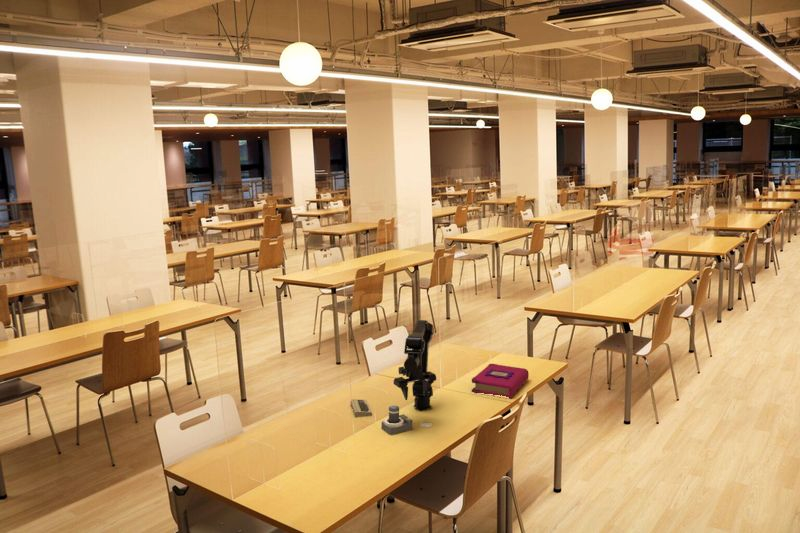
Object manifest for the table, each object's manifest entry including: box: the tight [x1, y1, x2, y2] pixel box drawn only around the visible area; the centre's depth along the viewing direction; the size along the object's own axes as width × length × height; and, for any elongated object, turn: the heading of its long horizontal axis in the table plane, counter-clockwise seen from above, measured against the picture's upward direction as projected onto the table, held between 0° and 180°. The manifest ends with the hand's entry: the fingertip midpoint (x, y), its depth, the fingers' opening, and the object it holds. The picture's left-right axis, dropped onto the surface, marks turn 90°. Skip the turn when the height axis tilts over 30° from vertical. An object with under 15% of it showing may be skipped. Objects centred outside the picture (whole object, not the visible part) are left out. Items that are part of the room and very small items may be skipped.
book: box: [471, 363, 530, 398], centre depth 346 cm, size 21×28×8 cm
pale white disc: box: [420, 421, 433, 429], centre depth 301 cm, size 5×5×1 cm
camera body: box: [381, 413, 414, 436], centre depth 297 cm, size 11×8×5 cm
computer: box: [349, 398, 373, 418], centre depth 318 cm, size 16×8×3 cm, turn 12°
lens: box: [388, 405, 400, 424], centre depth 295 cm, size 5×5×7 cm
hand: (415, 397), depth 301 cm, fingers open, 9 cm apart
